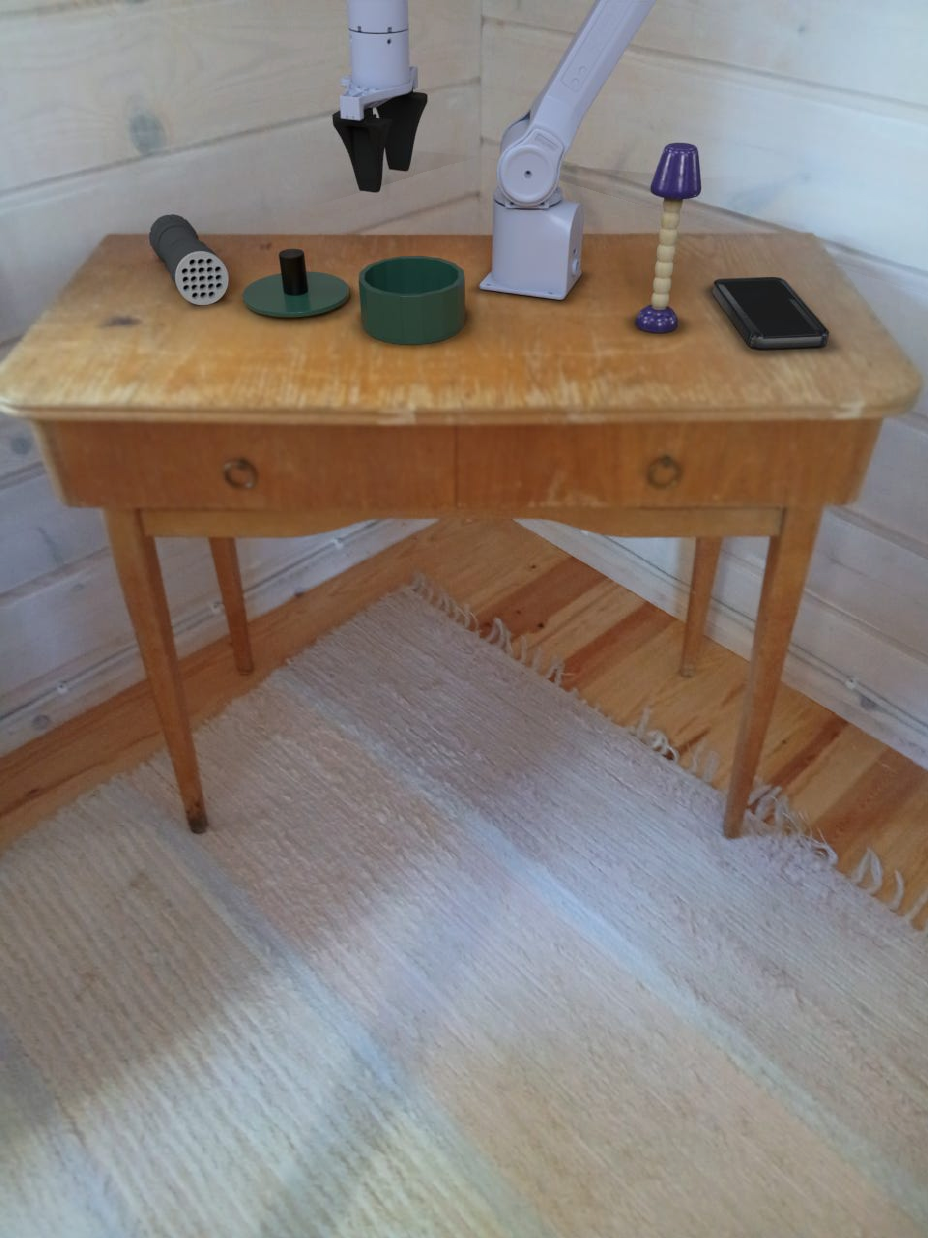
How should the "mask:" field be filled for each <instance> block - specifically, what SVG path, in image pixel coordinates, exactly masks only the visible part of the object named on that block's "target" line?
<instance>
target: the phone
mask: <svg viewBox="0 0 928 1238" xmlns="http://www.w3.org/2000/svg"><path fill="white" fill-rule="evenodd" d="M711 292H712V295H713V296H714V297H715V299H716V300H717V302H718V303H719V305H720V307H721V308H722V309H723V311H724V312H725V314H726V315H727V316H728V318H729V320H730V321H731V323H732V324H733V325H734V327H735V328H736V330H737V331H738V332H739V334H740V335H741V337H742V338H743V339H744V341H745V343H746V345H748V347H750V348H752V349H755V350H784V349H785V350H786V349H808V348H823V347H826V346H827V344H828V340H829V336H830V331H829V329H827V327H826V326H825V325H824V323H823V322H822V321H821V320H820V319H819V318H818V316H816V314H815V313H814V312H813V311H812V309H811V308H810V307H809V305H807V304H806V303H805V301H804V300H803V299H802V298H801V297H800V296H799V294H798V293H797V292H796V291H795V290H794V289H793V287H792V286H791V285H790V284H789V283H788V281H787V280H786V279H784V278H782V277H777V276H760V277H759V276H756V277H731V278H727V277H726V278H717V279H715V280H714V281H713V285H712V291H711Z"/></svg>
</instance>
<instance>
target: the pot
mask: <svg viewBox="0 0 928 1238" xmlns="http://www.w3.org/2000/svg"><path fill="white" fill-rule="evenodd" d="M465 276H466V275H465V270H464V269H463V268H462V267H460V266H459V265H458V264H457V263H455V262H452V261H450V260H446V259H444V258H440V257H434V256H426V255H400V256H396V257H395V256H394V257H389V258H383V259H379V260H378V261H375V262H372V263H370V264H368V265H366V266H365V267H364V268H363V269H362V270H361V271H359V273H358V293H359V304H360V316H361V317H360V318H361V325H362V328H363V331H365V333H366V334H368V335H369V336H370V337H372V338H374V339H376V340H379V341H382V342H385V343H390V344H396V345H405V346H406V345H408V346H412V345H413V346H416V345H417V346H418V345H428V344H433V343H438V342H440V341H445V340H447V339H450V338H452V337H454V336H456V335H457V334H458V333H460V332H461V331H462V329H463V328H464V326H465V322H466V281H465V280H466V278H465Z"/></svg>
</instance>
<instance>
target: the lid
mask: <svg viewBox="0 0 928 1238" xmlns="http://www.w3.org/2000/svg"><path fill="white" fill-rule="evenodd" d="M278 259H279V267H280V272H279V273H275V274H271V275H267V276H264V277H261V278H258V279H256V280H254V281H252V282H251V283H250V284H248V285H247V286H246V287H245V288H244V289H243V291H242V294H241V296H242V302H243V303H244V306H246V307H247V308H248V309H249V310H251V311H253V312H254V313H257V314H260V315H264V316H269V317H277V318H301V317H309V316H310V317H311V316H317V315H319V314H323V313H328V312H330V311H333V310H335V309H336V308H338V307H340V306H342V305H343V304H344V303H346V302H347V301H348V299H349V297H350V286H349V284H348V283H347V282H346V281H345V280H344V279H342V278H340V277H339V276H336V275H333V274H330V273H327V272H320V271H311V270H310V271H307V265H306V258H305V252H304V250H302V249H300V248H287V249H283V250H280V251H279V253H278Z"/></svg>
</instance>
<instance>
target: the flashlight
mask: <svg viewBox="0 0 928 1238" xmlns="http://www.w3.org/2000/svg"><path fill="white" fill-rule="evenodd" d="M149 230H150V231H149V233H148V240H149V245H150V246H151V248H152V250H153V252H154V253H155V255H156V256H157V257H158V259H159V260H160V261H161V262H162V263H165V265H166V268H167V271H168V273H169V274H170V275H169V276H170V278H171V281H172V282H173V284H174V286H175V287H176V289H177V291H178V292H179V293H180V295H181V296H182V297H183V298H184V300H186V301H188V302H190V303H192V304H194V305H197V306H206V305H212V304H215V303H216V302H217V301H219V300H220V299H221V298H222V297H223V296H224V295H225V294H226V291H227V289H228V286H229V281H230V280H229V272H228V269H227V267H226V265H225V264H224V262H223V261H222V260H221V258H220V257H219V256H218V255H217V254H216V252H215V251H214V250H213V249H211V248H210V247H209V246H208V245H206V243H204V242H203V241H201V240H200V238H199V235H198V232H197V231H196V229H195V228H194V227H193V225H192V224H191V223H190V222H189V221H188V220H187V219H186V218H185V217H183V216H181V215H178V214H173V213H171V214H164V215H161V216H160V217H158V218H157V219H156V220H155V221H154V222H153V223H152V224H151V227H150V229H149Z"/></svg>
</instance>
